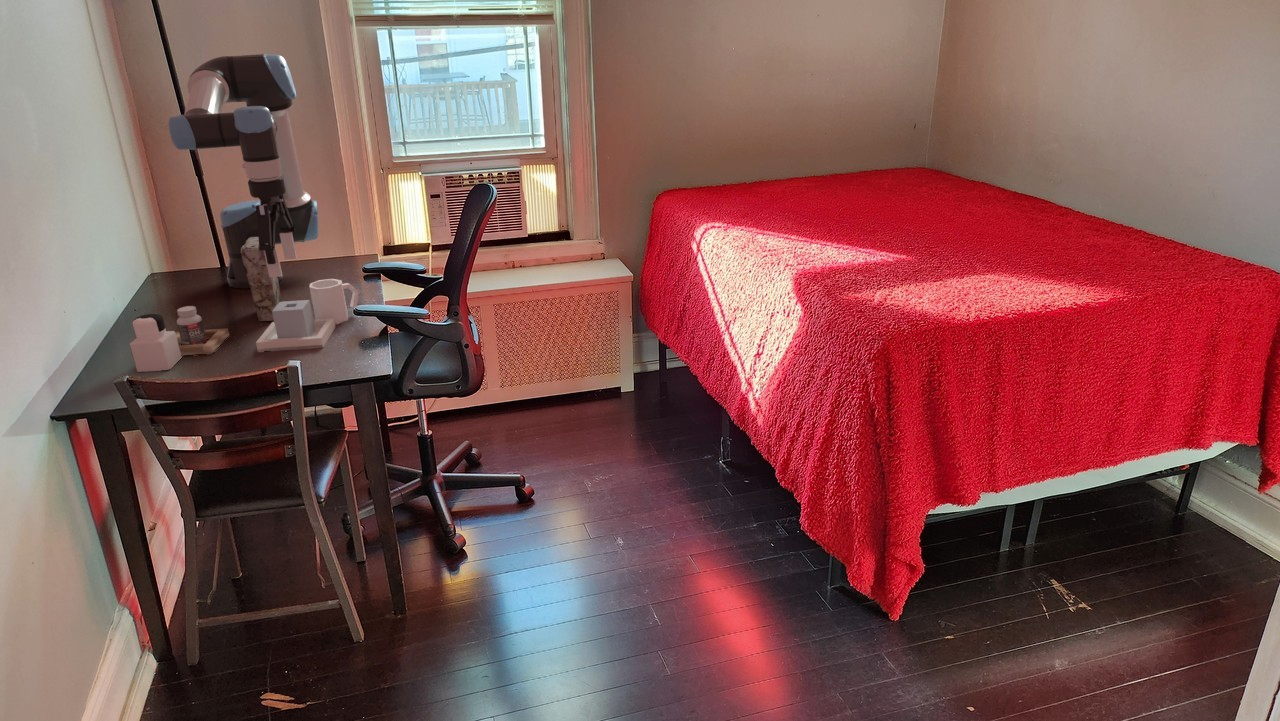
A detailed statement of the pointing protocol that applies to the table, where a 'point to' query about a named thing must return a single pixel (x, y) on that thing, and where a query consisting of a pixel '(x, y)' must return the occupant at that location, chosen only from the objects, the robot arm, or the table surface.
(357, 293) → the mug
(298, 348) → the tray
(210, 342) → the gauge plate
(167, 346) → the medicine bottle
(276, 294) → the stone block
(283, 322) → the blue-grey block
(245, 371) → the table surface
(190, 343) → the pill bottle
